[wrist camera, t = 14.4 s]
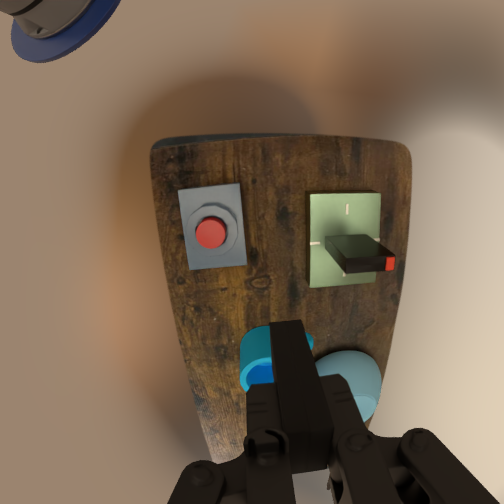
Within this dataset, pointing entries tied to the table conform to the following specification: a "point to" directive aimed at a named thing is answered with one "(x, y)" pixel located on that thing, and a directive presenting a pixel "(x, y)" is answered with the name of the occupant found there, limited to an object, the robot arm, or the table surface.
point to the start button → (211, 232)
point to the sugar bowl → (355, 377)
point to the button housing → (219, 206)
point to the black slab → (359, 253)
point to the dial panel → (338, 232)
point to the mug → (258, 357)
